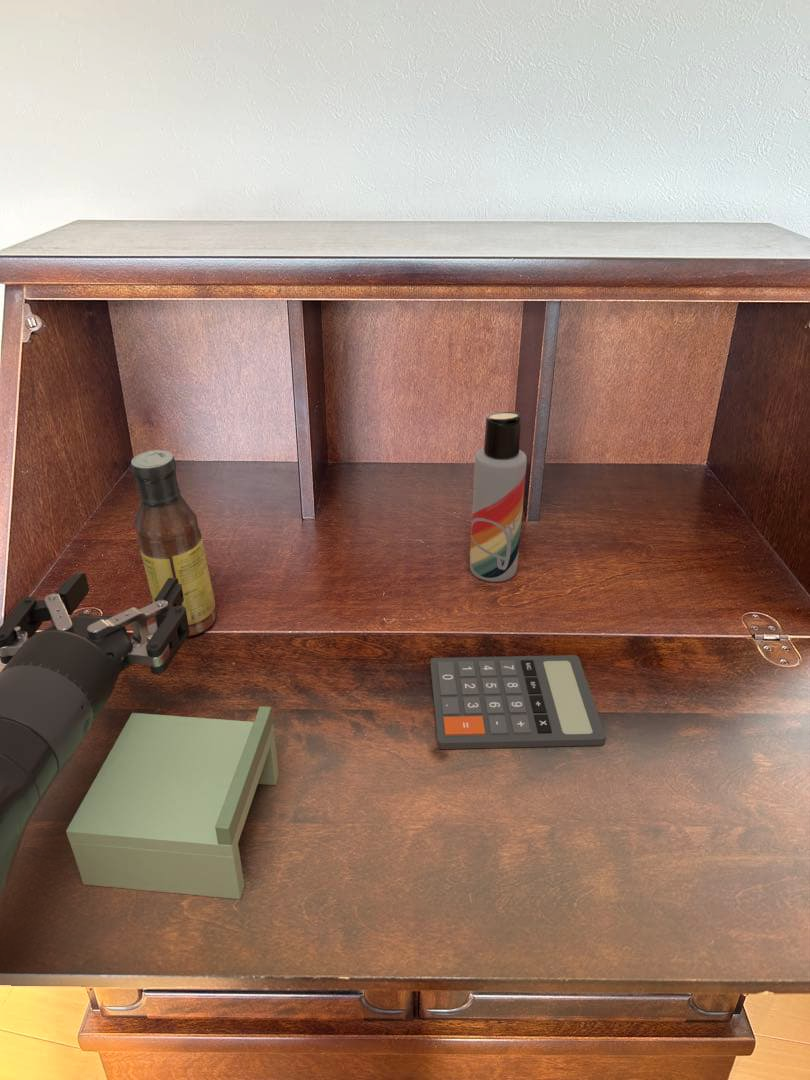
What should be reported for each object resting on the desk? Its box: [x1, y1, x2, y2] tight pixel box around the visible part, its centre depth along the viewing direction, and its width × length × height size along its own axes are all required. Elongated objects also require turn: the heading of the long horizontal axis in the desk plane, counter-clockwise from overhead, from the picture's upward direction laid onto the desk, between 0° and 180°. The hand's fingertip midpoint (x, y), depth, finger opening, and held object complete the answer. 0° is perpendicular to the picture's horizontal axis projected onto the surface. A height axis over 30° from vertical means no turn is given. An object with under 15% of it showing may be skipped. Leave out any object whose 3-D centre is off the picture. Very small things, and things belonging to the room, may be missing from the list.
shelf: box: [65, 706, 280, 900], centre depth 62 cm, size 12×12×8 cm
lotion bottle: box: [469, 411, 528, 583], centre depth 91 cm, size 6×6×20 cm
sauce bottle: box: [130, 449, 217, 638], centre depth 82 cm, size 7×6×20 cm
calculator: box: [429, 654, 607, 750], centre depth 76 cm, size 12×1×15 cm
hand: (129, 583), depth 72 cm, fingers open, 8 cm apart
